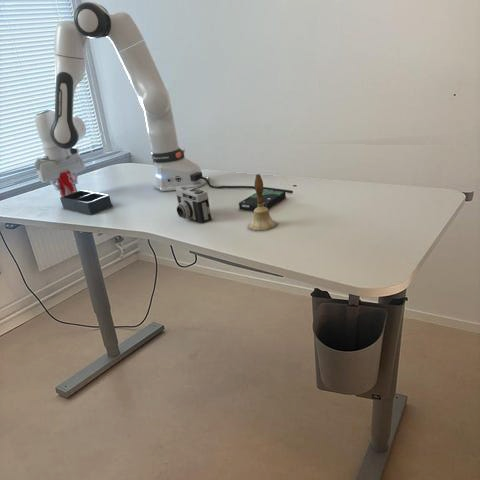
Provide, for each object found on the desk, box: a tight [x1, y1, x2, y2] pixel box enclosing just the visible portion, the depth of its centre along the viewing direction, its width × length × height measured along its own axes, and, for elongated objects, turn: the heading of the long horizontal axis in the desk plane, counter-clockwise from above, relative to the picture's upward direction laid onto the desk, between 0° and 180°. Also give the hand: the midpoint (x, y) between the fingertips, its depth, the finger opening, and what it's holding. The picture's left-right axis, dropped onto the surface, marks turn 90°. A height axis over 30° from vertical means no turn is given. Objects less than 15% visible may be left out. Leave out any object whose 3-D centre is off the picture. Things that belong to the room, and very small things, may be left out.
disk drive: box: [238, 189, 287, 212], centre depth 171 cm, size 10×3×15 cm
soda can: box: [55, 170, 78, 197], centre depth 206 cm, size 7×7×12 cm
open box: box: [59, 189, 113, 216], centre depth 194 cm, size 19×10×5 cm, turn 49°
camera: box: [175, 186, 212, 224], centre depth 165 cm, size 14×8×10 cm, turn 37°
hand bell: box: [249, 173, 277, 232], centre depth 150 cm, size 8×8×16 cm
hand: (67, 186), depth 206 cm, fingers closed on soda can, 7 cm apart
